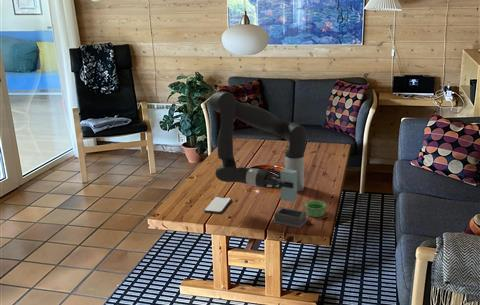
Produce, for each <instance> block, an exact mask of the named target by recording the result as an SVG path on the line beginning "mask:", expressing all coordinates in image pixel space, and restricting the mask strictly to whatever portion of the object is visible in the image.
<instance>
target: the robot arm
mask: <svg viewBox="0 0 480 305" xmlns="http://www.w3.org/2000/svg"><path fill="white" fill-rule="evenodd" d="M209 106H210V108H211V109H212V110H213V111H215V112H217V113H220V115H219V116H220V127H219V132H218V135H217V140H216V141H217V143H216V145H217V147H216V149H217V157H218V159H219V160H221V161H222V162H221V163H222V165H219V166H218V167H216V169H215V173H214V174H215V177H216V179H218V180H219V181H221V182H225V183H241V184H245V185H250V186H254V187H259V188H264V189H270V190H271V189H274V190H275V189H276V190H281V187H282V188H284V187H287V188H293V183H290V182H284V181H281V172H279V174H273V173H272V172H271V171H270V170H267V169H259V168H250V167H243V166H240V167H238V166H237V162H236V160H235V159H236V158H235V156H234V122H235V119H237V120H238V121H239V120H240V121H241V122H243V123H244V124H247V125H249V126H251V127H253V128H256V129H258V130H262V131H265V132H270V133H274V134H276V135H277V136H279V137H281V138H283V139H284V140H285V141H287V142H289V144H288V145H289V146H288V148H287V149H285V150H284V151H285V152H284V166H285V167H284V169H290V170H296V171H297V192H302V191H303V190H304V189H305V188H304V186H305V151H306V149H307V131H306V128H305V127H304V126H302V125H300V124H297V123H294V122H291V121H288V120H285V119H281V118H279V117H277V116H276V115H275V114H273V113H271V112H270V111H268V110H266V109H264V108H261V107H259V106H257V105H253V104H249V103H245V102H240V101H238V100H236V97H235V96H234V94H233V93H231V92H228V91H217V92H215V93H213V94H212V95H211V96H210V97H209Z"/></svg>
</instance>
